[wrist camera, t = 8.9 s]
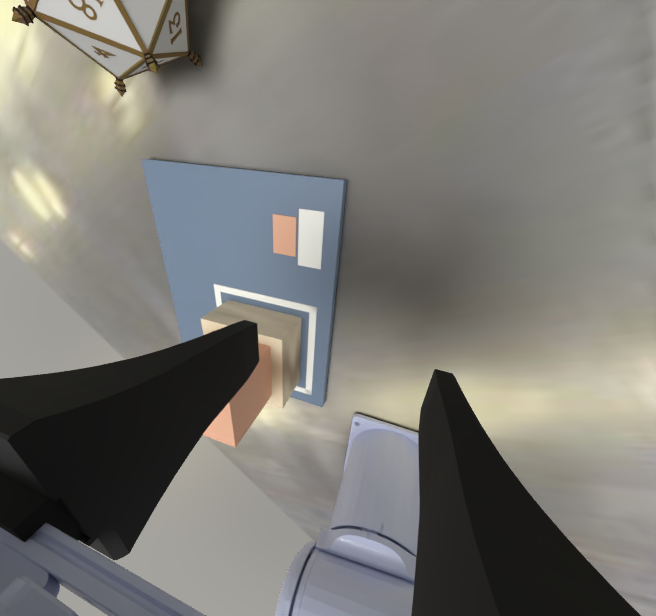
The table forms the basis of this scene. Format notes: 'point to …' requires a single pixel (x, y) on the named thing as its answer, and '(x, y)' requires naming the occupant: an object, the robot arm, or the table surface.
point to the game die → (118, 31)
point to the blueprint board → (252, 249)
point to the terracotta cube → (244, 403)
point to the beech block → (267, 341)
